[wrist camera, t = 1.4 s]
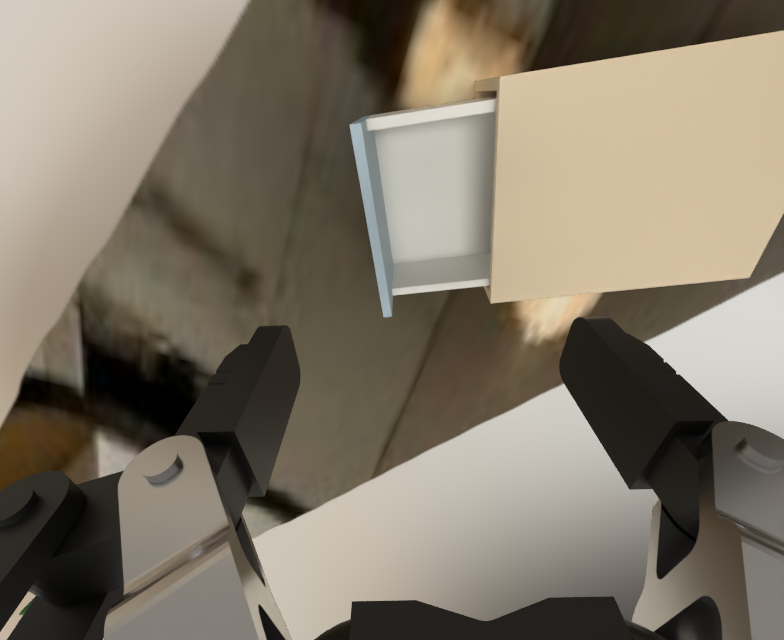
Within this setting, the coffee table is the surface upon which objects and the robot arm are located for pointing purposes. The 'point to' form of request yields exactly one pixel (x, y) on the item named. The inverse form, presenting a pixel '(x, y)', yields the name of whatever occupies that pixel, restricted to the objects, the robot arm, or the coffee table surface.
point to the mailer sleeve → (637, 169)
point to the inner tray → (428, 195)
